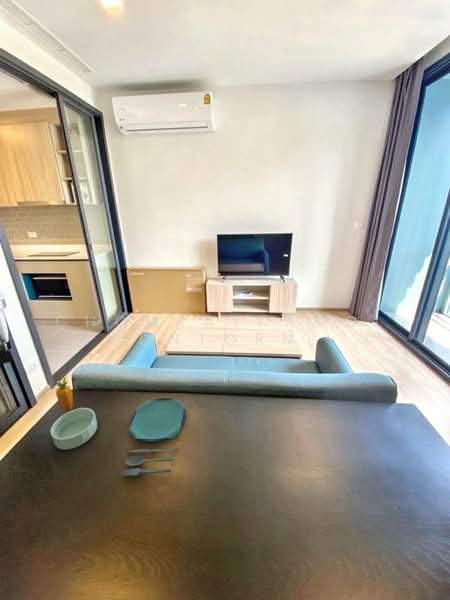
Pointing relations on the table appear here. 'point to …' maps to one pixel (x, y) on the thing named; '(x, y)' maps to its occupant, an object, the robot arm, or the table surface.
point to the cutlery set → (155, 429)
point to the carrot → (64, 395)
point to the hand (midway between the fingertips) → (5, 355)
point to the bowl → (74, 428)
